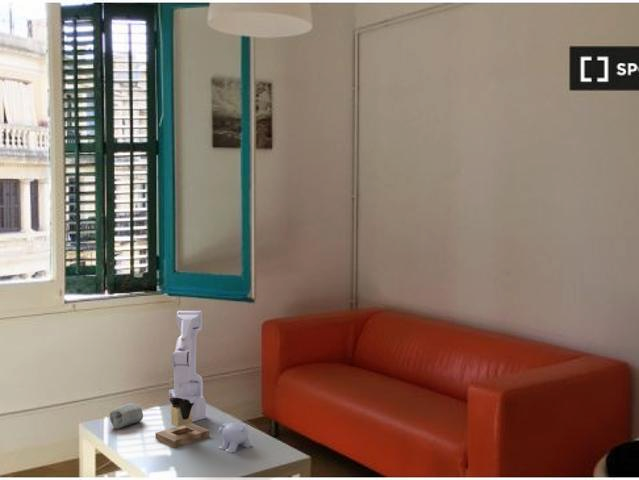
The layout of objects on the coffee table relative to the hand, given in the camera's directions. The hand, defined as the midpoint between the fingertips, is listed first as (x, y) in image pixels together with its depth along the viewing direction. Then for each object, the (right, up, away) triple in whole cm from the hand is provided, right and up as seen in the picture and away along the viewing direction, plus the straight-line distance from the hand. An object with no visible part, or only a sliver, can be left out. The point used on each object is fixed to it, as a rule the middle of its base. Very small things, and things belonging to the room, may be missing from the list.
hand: (182, 417), depth 286 cm
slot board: (0, -8, +1) cm, 8 cm away
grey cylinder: (-25, -7, +15) cm, 30 cm away
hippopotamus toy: (+20, -9, -7) cm, 23 cm away
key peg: (0, -2, 0) cm, 2 cm away
